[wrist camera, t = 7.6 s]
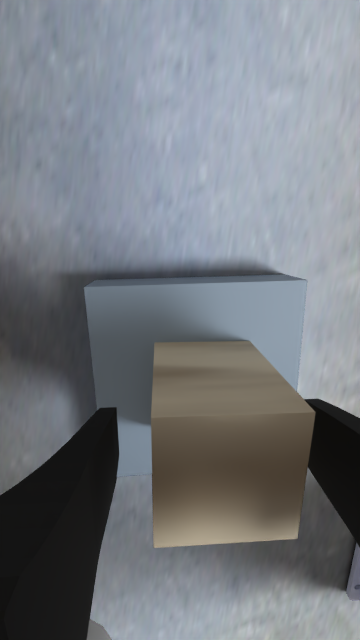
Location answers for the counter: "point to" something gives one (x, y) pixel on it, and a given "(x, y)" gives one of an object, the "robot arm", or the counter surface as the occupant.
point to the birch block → (225, 446)
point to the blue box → (182, 337)
